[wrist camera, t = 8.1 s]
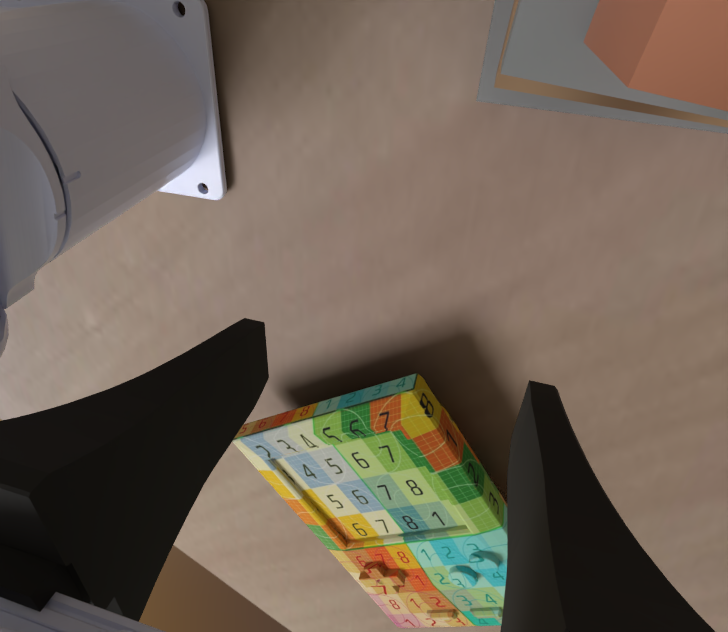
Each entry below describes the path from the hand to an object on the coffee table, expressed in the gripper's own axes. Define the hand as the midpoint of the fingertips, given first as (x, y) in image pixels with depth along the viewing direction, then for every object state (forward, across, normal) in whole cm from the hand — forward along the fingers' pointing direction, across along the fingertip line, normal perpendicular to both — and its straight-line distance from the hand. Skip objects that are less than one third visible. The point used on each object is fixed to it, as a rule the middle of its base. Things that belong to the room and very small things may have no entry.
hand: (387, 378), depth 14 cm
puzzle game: (+11, -1, +18) cm, 21 cm away
